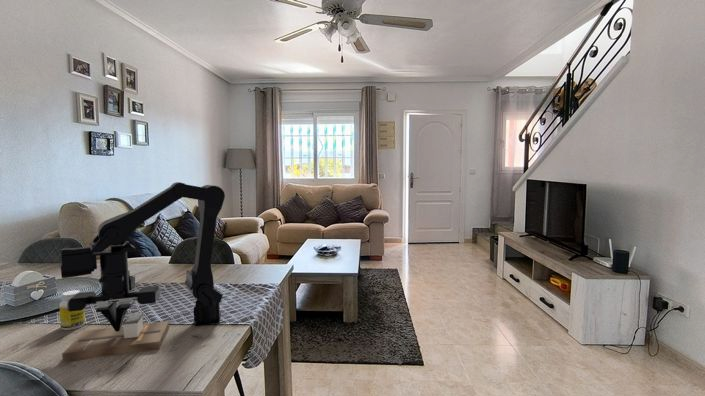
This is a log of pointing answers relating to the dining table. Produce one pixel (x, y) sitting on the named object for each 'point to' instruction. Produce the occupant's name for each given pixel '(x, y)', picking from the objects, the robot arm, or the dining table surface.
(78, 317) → the supplement bottle
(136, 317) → the fader tab
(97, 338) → the fader console
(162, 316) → the dining table surface
